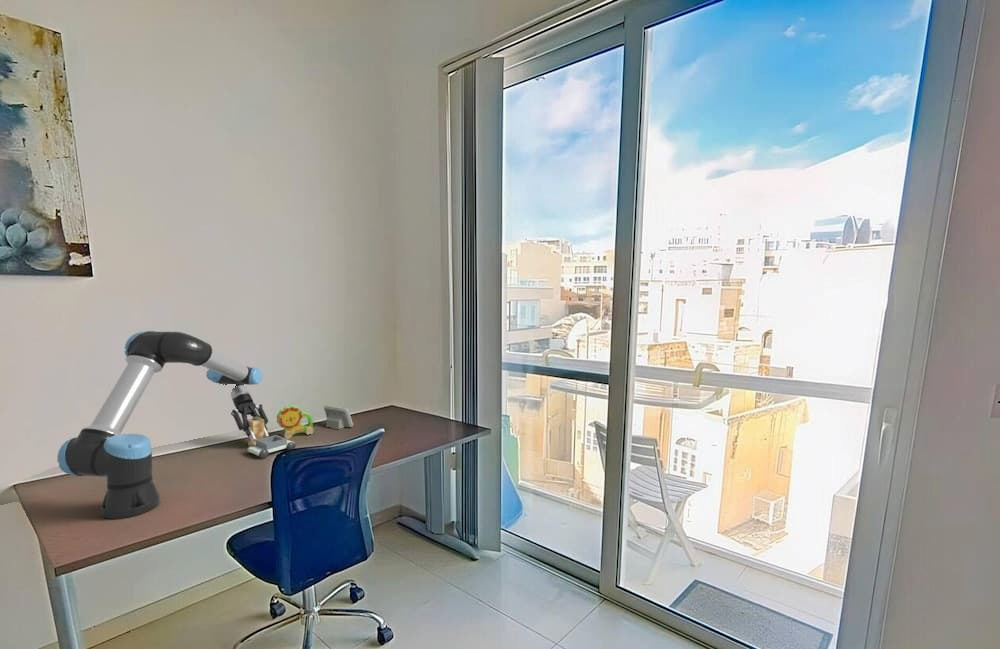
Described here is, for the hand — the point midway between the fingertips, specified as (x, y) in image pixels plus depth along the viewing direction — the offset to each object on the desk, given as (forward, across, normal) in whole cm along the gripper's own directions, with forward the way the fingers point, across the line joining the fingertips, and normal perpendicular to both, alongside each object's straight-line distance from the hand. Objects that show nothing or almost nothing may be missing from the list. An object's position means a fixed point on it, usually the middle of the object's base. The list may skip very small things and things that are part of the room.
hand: (260, 439), depth 211 cm
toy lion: (+1, -18, -5) cm, 19 cm away
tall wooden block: (0, 0, -5) cm, 5 cm away
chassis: (+9, 0, +4) cm, 10 cm away
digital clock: (+3, -40, -3) cm, 40 cm away
